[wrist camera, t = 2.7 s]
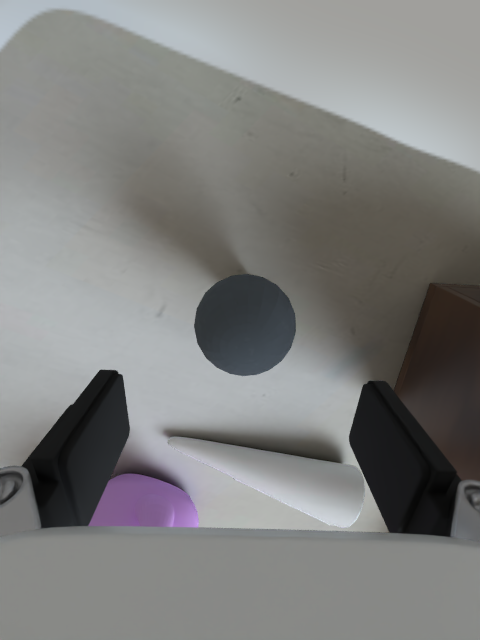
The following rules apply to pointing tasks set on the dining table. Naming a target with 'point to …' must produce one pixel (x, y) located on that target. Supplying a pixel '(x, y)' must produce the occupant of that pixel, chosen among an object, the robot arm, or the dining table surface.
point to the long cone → (286, 478)
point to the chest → (447, 374)
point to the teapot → (144, 504)
